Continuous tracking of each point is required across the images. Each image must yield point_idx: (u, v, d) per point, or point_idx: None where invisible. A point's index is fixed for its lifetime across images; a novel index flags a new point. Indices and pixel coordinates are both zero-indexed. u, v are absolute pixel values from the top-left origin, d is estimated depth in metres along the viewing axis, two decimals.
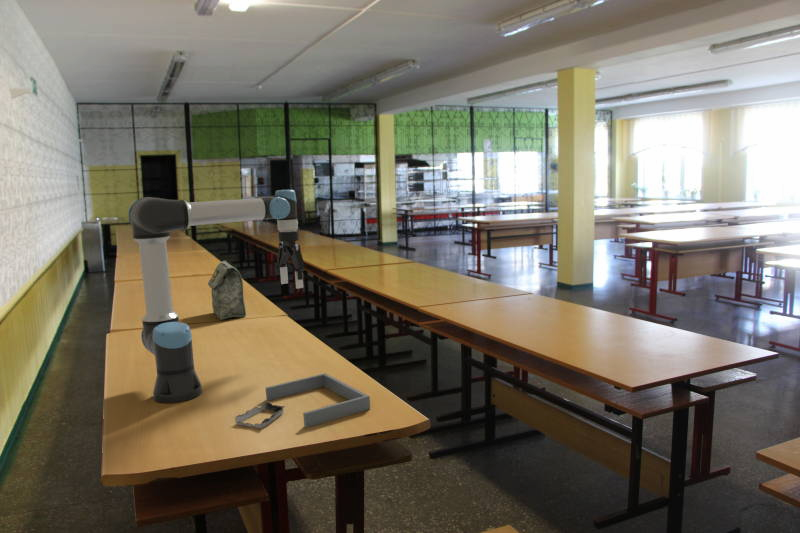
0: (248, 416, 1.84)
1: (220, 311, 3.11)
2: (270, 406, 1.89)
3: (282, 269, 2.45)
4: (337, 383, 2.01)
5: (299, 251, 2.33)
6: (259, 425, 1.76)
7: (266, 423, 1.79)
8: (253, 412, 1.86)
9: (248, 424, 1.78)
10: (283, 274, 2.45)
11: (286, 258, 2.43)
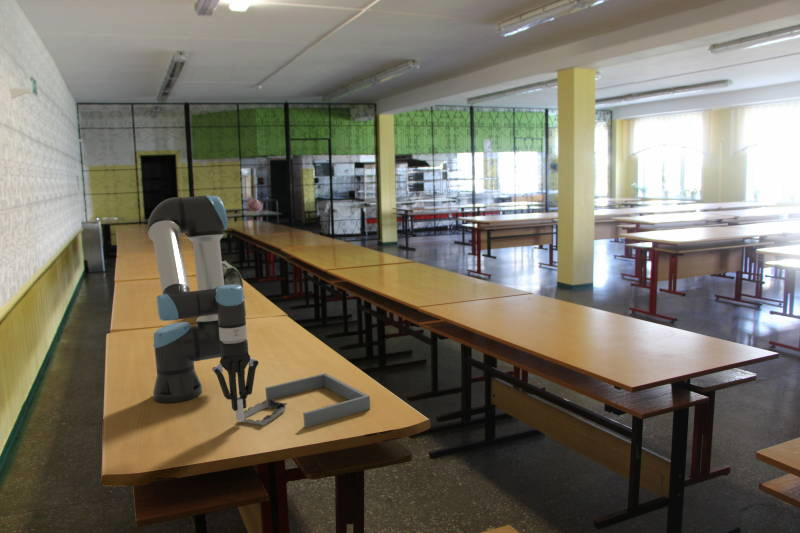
0: (251, 412, 1.86)
1: None
2: (272, 403, 1.91)
3: None
4: (337, 383, 2.01)
5: (219, 377, 1.74)
6: (260, 422, 1.78)
7: (267, 420, 1.80)
8: (256, 409, 1.88)
9: (250, 420, 1.80)
10: None
11: (239, 381, 1.77)
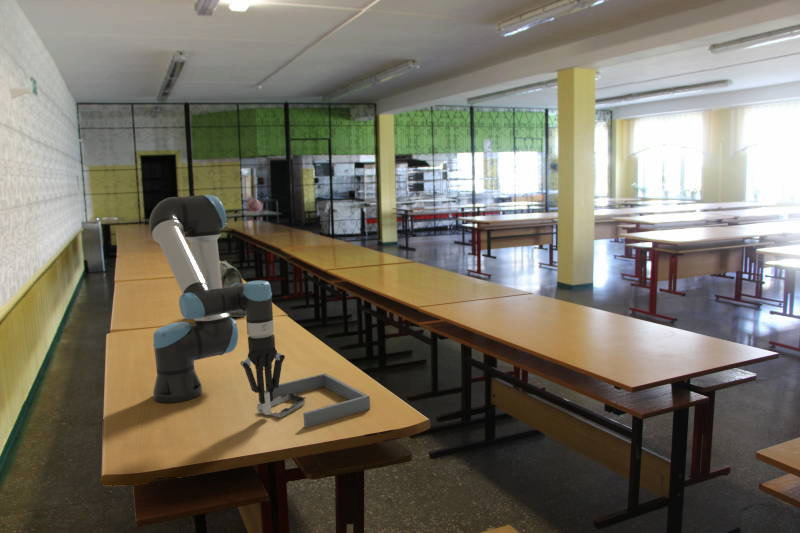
0: (271, 405, 1.92)
1: None
2: (293, 397, 1.96)
3: None
4: (337, 383, 2.01)
5: (247, 371, 1.78)
6: (278, 414, 1.83)
7: (285, 413, 1.86)
8: (277, 402, 1.94)
9: None
10: None
11: (266, 375, 1.82)
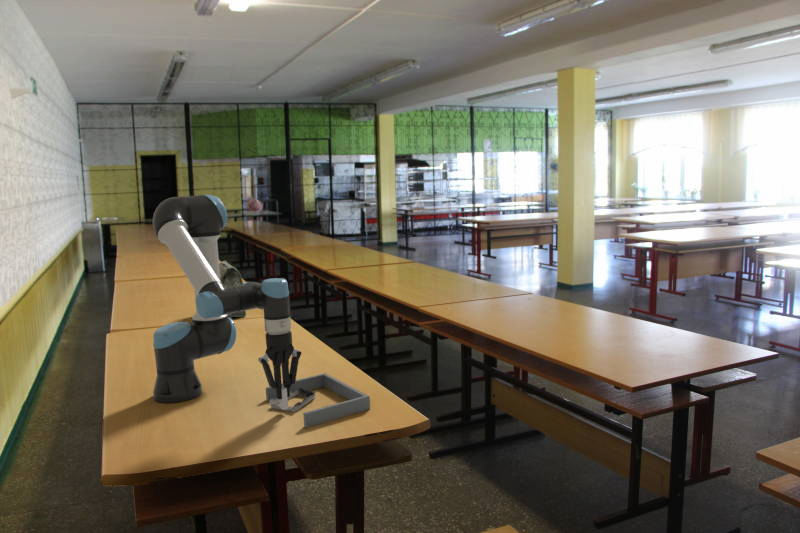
0: None
1: None
2: (302, 391, 2.01)
3: None
4: (337, 383, 2.01)
5: (265, 367, 1.81)
6: (292, 408, 1.87)
7: (298, 406, 1.90)
8: (287, 397, 1.98)
9: None
10: None
11: (284, 371, 1.85)
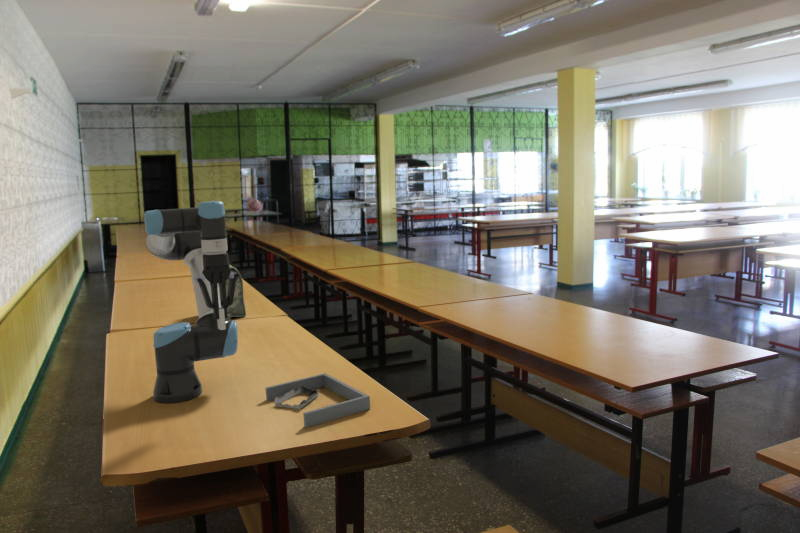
0: (286, 398, 1.98)
1: None
2: (305, 390, 2.03)
3: None
4: (337, 383, 2.01)
5: (201, 287, 1.87)
6: (297, 406, 1.89)
7: (303, 404, 1.92)
8: (290, 395, 2.00)
9: (287, 405, 1.91)
10: None
11: (221, 291, 1.90)
